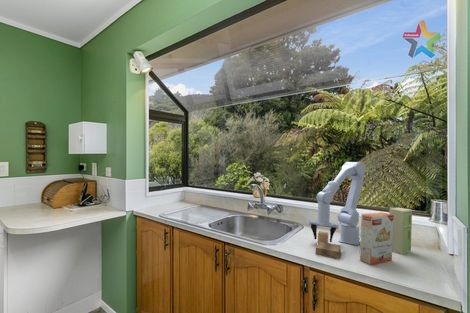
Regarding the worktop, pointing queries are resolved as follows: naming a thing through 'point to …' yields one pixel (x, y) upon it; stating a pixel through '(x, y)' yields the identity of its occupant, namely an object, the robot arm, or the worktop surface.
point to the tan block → (323, 236)
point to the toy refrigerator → (401, 230)
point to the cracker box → (376, 238)
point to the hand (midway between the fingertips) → (323, 240)
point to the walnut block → (328, 249)
